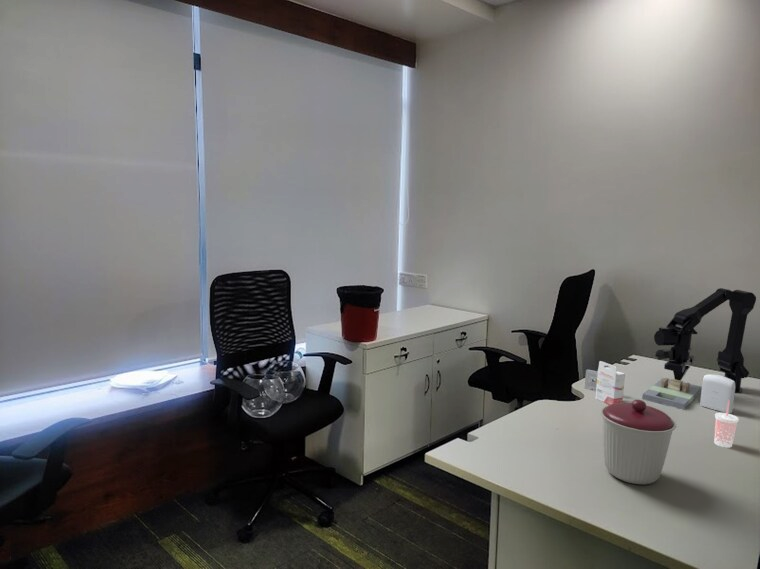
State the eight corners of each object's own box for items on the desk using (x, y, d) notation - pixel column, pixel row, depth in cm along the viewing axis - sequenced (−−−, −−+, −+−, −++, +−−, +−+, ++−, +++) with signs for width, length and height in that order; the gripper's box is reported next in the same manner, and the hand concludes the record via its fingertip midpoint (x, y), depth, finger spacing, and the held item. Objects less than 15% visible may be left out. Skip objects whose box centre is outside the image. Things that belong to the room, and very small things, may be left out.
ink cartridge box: (622, 404, 194) (627, 365, 191) (613, 406, 191) (617, 367, 189) (604, 396, 201) (607, 358, 199) (594, 398, 199) (598, 360, 197)
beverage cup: (738, 449, 160) (744, 405, 158) (716, 447, 161) (722, 403, 159) (729, 440, 166) (735, 398, 164) (708, 438, 167) (713, 396, 165)
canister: (606, 452, 156) (613, 383, 153) (675, 473, 145) (685, 399, 142) (585, 476, 143) (593, 400, 139) (660, 501, 131) (670, 420, 128)
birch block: (670, 385, 209) (671, 378, 208) (682, 388, 206) (683, 381, 206) (667, 388, 206) (668, 380, 205) (679, 391, 203) (680, 383, 203)
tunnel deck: (662, 382, 219) (663, 371, 218) (701, 391, 209) (702, 380, 209) (642, 398, 200) (643, 387, 199) (683, 409, 190) (685, 397, 190)
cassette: (583, 388, 209) (585, 369, 208) (585, 387, 211) (587, 368, 209) (615, 396, 202) (617, 377, 200) (617, 395, 203) (619, 375, 202)
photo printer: (697, 405, 194) (701, 373, 192) (702, 403, 197) (706, 371, 195) (729, 415, 187) (734, 381, 185) (733, 412, 189) (738, 378, 187)
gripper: (666, 336, 218) (661, 373, 220) (652, 345, 204) (647, 383, 207) (697, 342, 210) (692, 380, 213) (684, 351, 197) (679, 391, 199)
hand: (677, 383), depth 208 cm, fingers closed
